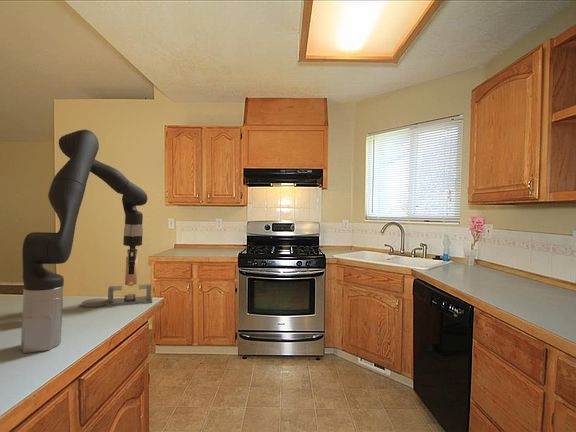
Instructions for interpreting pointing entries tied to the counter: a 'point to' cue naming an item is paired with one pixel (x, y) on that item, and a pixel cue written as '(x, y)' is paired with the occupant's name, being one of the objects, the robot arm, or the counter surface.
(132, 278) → the knob
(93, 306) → the coaster
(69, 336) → the counter surface
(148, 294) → the keeper post
